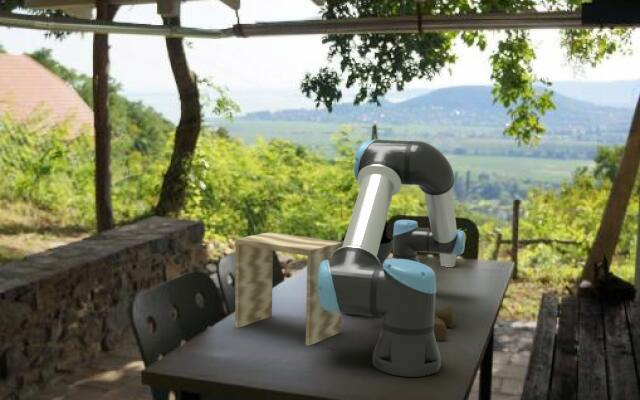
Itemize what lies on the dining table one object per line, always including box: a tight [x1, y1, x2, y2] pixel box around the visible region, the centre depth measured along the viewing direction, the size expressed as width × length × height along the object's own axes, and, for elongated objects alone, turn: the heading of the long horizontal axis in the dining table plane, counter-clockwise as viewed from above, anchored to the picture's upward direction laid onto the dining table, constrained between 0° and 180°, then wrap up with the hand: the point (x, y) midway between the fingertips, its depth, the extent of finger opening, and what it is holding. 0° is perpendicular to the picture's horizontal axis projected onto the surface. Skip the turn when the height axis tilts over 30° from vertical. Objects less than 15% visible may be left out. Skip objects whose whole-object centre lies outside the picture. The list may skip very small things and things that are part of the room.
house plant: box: [438, 227, 466, 267], centre depth 261 cm, size 14×14×16 cm
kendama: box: [434, 306, 455, 341], centre depth 182 cm, size 6×10×20 cm
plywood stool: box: [234, 231, 343, 347], centre depth 178 cm, size 14×24×24 cm, turn 55°
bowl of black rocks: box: [339, 218, 393, 264], centre depth 259 cm, size 20×20×19 cm
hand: (347, 289), depth 191 cm, fingers closed on disposable coffee cup, 8 cm apart
